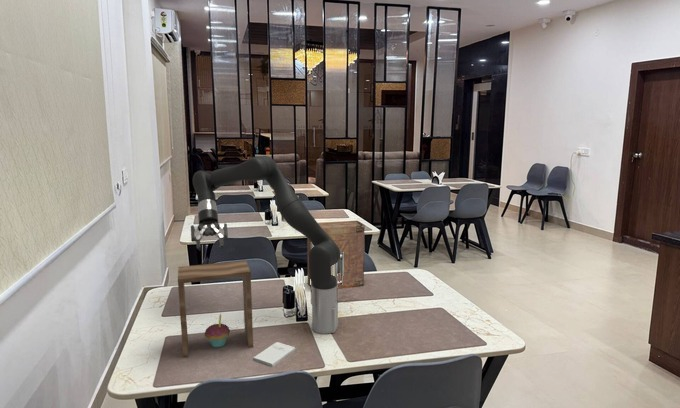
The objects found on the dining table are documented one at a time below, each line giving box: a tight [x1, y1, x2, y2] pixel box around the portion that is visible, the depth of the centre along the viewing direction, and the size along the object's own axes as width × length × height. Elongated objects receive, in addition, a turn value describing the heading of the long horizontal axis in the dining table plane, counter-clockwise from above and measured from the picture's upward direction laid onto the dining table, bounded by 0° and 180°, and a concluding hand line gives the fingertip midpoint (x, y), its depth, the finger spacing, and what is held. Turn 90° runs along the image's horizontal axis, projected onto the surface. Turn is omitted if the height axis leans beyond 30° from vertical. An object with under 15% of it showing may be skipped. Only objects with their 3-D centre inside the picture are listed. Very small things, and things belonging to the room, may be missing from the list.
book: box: [307, 220, 366, 290], centre depth 208 cm, size 25×9×30 cm, turn 108°
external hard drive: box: [252, 341, 296, 368], centre depth 148 cm, size 2×8×12 cm
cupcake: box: [204, 313, 231, 348], centre depth 154 cm, size 9×8×12 cm
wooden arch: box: [177, 260, 254, 359], centre depth 152 cm, size 13×23×28 cm, turn 109°
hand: (210, 248), depth 169 cm, fingers open, 7 cm apart
